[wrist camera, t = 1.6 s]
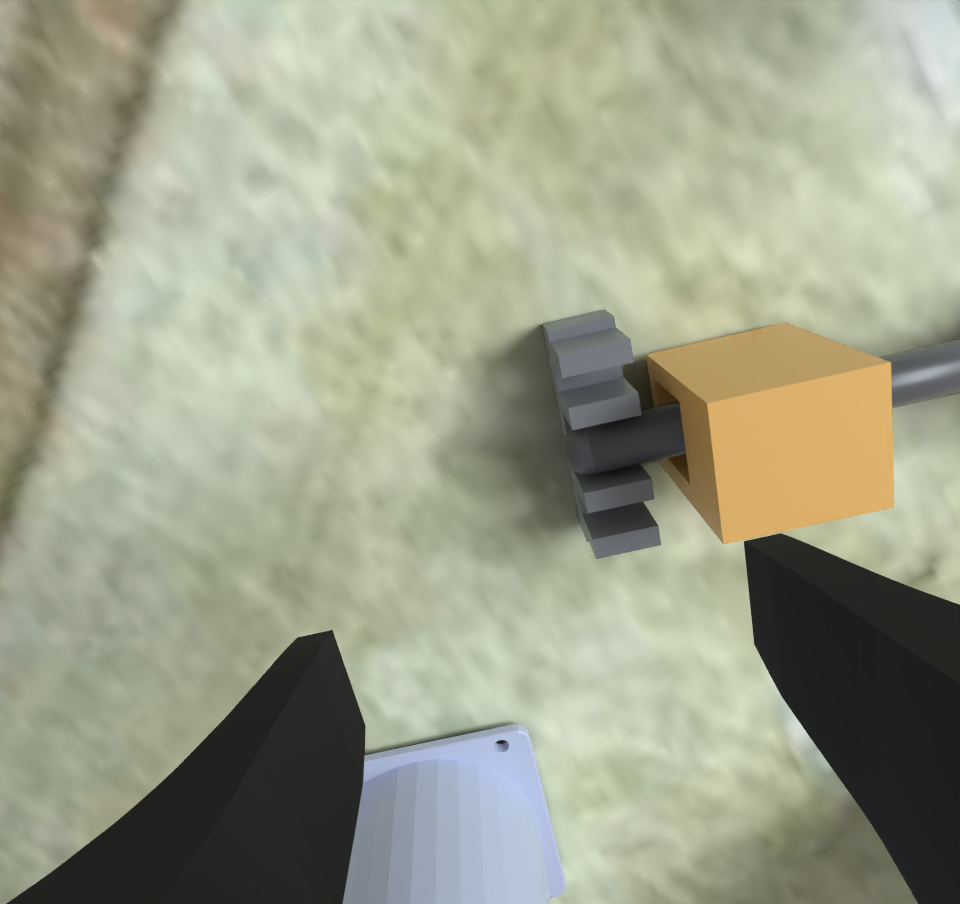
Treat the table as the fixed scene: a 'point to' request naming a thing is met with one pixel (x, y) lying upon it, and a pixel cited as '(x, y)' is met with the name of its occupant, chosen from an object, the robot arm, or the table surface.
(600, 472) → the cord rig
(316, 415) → the table surface
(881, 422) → the sleeve
